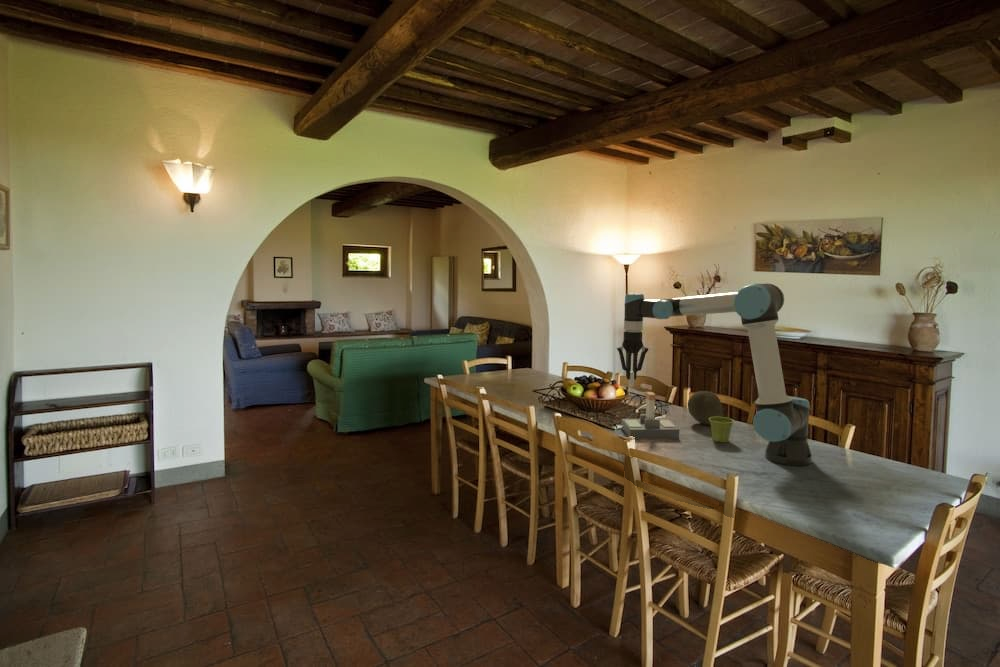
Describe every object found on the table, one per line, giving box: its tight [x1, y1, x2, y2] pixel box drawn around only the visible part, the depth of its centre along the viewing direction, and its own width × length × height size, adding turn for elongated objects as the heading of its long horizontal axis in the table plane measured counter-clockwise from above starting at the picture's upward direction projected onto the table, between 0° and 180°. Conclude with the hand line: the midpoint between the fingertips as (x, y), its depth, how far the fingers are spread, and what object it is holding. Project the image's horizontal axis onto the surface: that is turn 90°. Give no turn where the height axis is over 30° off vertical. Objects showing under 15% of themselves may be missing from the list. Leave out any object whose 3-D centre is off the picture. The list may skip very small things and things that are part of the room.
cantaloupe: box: [687, 390, 723, 426], centre depth 249 cm, size 14×14×15 cm
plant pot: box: [709, 416, 735, 443], centre depth 226 cm, size 9×9×9 cm
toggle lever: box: [645, 391, 656, 419], centre depth 235 cm, size 5×3×13 cm, turn 0°
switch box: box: [621, 413, 681, 440], centre depth 236 cm, size 16×20×7 cm
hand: (631, 386), depth 234 cm, fingers closed
